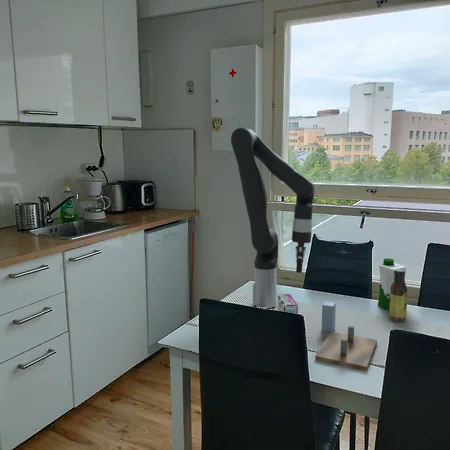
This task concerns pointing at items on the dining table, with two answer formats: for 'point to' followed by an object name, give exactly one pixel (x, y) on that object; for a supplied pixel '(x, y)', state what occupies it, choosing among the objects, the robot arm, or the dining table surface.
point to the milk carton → (387, 281)
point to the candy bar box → (287, 304)
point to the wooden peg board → (347, 350)
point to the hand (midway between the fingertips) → (299, 270)
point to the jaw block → (328, 316)
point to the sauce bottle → (398, 297)
